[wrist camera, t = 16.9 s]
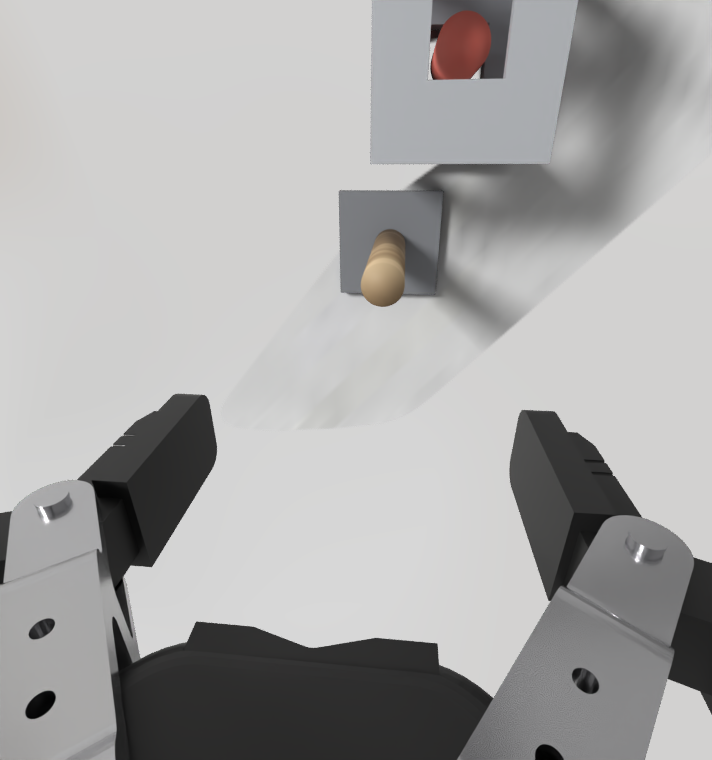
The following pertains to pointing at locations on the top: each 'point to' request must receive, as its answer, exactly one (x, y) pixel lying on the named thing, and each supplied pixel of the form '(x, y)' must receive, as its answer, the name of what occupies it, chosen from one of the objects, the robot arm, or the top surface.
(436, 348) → the top surface
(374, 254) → the oak dowel
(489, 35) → the plunger
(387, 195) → the pad
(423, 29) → the grey open cage
